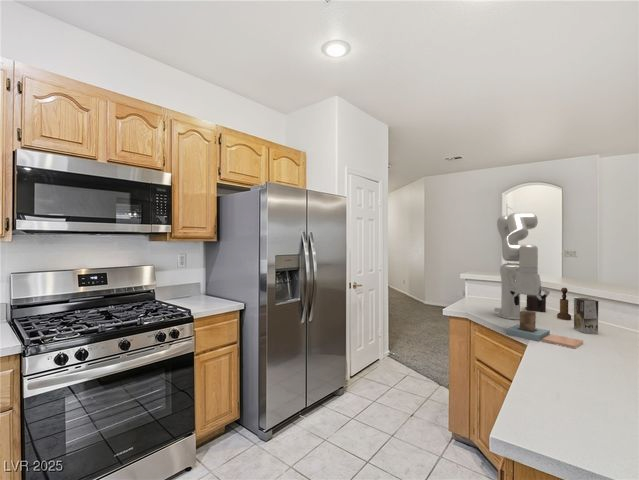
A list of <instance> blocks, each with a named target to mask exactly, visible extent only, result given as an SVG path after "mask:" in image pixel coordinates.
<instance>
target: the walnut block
mask: <svg viewBox="0 0 639 480" xmlns="http://www.w3.org/2000/svg"><path fill="white" fill-rule="evenodd" d="M536 313H537V312H536V311H528V310H526V309H524V310H520V319H519V325H520V330H523V331H528V332H535V328H536V322H537V321H536V318H537V317H536V315H537V314H536Z"/></svg>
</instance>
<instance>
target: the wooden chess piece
mask: <svg viewBox="0 0 639 480" xmlns="http://www.w3.org/2000/svg"><path fill="white" fill-rule="evenodd" d="M560 289H561V293H562V294H561V298H559V312H558V313H557V315H556V318H557V319H558V320H563V321H564V320H565V321H571V320H572V315H571V314H570V313H569V299H567V297H568V296H567V295H566V294H567V293H568V288H567V287H561V288H560Z"/></svg>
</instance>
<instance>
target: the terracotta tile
mask: <svg viewBox="0 0 639 480" xmlns="http://www.w3.org/2000/svg"><path fill="white" fill-rule="evenodd" d="M541 341H543V343H547V342H549V343H548V344H551V343H553V344H552V345H556V344H558V345H557V346H560V345H561V347H565V346H566V348H569V347H571V349H574V348H575V349H577V348H579V347H580V346H582V345H583V344H584V340H583V339H578V338H572V337H568V336H562V335H558V334H553V333H550V335H549V336H547V337H545V338H543V339H542V340H541ZM578 346H579V347H578ZM576 347H577V348H576Z"/></svg>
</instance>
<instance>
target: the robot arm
mask: <svg viewBox="0 0 639 480" xmlns="http://www.w3.org/2000/svg"><path fill="white" fill-rule="evenodd" d="M538 223H539V222H538V216H537V215H536V214H535V213H534V212H533V213H532V212H515V213H510V214H509V215H502V216H499V217H498V218H497V221H496V227H497V231H498V233H499V235H500V238H501V239H500V240H501V256H502V260H504V261H505V262H507V263H503V264H502V265H501V266H500V267H499V274H500V279H501V280H500V281H501V282H500V283H501V294H500V295H501V302H500V304H501V307H500V308H499V307H494V312H498V317H499V318H502V319H506V320H519V321H520V312H521V295H523V296H524V295H525V296H527V295H533V296H537V298H538V299H539V300H538V309H540V308H542V307H543V300H544V299H545V298H546V299H547V297H548V296H549V294H550V290H548V289H546V288H544V287H543V286H542V281H541V276H540V274H539V273H538V272H539V271H538V269H539V268H538V267H539V266H538V265H539V264H538V262H539V261H538V258H539V257H538V256H539V249H538V246H536V245H535V244H533V245H532V244H519V242H520V241H523V240H525V239H526V238H527V237H528V236H529V230H532V229H535V228H537V226H538ZM509 262H515V263H509ZM542 292H543V293H544V294H542ZM542 295H543V296H542Z"/></svg>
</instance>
